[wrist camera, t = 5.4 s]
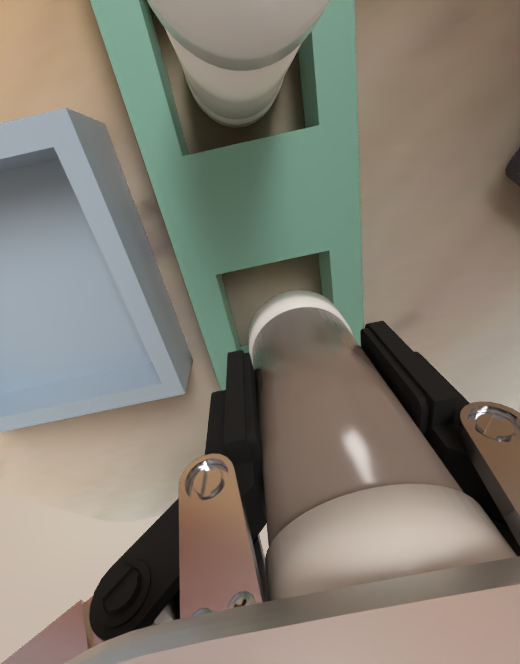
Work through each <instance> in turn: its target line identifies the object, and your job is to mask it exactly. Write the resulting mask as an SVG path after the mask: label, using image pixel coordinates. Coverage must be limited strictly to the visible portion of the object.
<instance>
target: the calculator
mask: <svg viewBox="0 0 520 664" xmlns="http://www.w3.org/2000/svg"><path fill="white" fill-rule="evenodd" d="M506 175H507V176H508V177H509V178H510V179H511V180H513V181H514V182H515V183H516V184H518V185H519V186H520V148H519V150H518V151H517V152H516V154H515V155H514V156H513V158H512V159H511V160H510V162H509V163H508V165H507V167H506Z"/></svg>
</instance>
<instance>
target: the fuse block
mask: <svg viewBox="0 0 520 664" xmlns="http://www.w3.org/2000/svg"><path fill="white" fill-rule="evenodd" d="M90 2H91V5H92V8H93V11H94V14H95V17H96V20H97V23H98V26H99V29H100V32H101V35H102V38H103V41H104V44H105V47H106V50H107V53H108V56H109V59H110V62H111V65H112V68H113V71H114V74H115V77H116V80H117V82H118V85H119V88H120V91H121V94H122V97H123V100H124V103H125V106H126V109H127V112H128V115H129V118H130V121H131V124H132V127H133V130H134V133H135V136H136V139H137V142H138V145H139V148H140V151H141V154H142V157H143V160H144V163H145V166H146V169H147V172H148V175H149V178H150V181H151V184H152V187H153V190H154V193H155V196H156V198H157V201H158V204H159V207H160V210H161V213H162V216H163V219H164V222H165V225H166V228H167V231H168V234H169V237H170V240H171V243H172V246H173V249H174V252H175V255H176V258H177V261H178V264H179V267H180V270H181V273H182V276H183V279H184V282H185V285H186V288H187V291H188V294H189V297H190V300H191V303H192V306H193V309H194V312H195V314H196V317H197V320H198V323H199V326H200V329H201V332H202V335H203V338H204V341H205V344H206V347H207V350H208V353H209V356H210V359H211V362H212V365H213V368H214V371H215V374H216V377H217V380H218V383H219V386H220V389H221V391H222V390H226V374H227V354H228V352H233V351H238V350H243V351H244V353H248V352H249V344H248V345H244V346H240V342H239V338H238V335H237V331H236V327H235V324H234V320H233V316H232V312H231V309H230V305H229V301H228V298H227V294H226V290H225V286H224V283H223V279H222V275H221V274H222V273H227V272H232V271H236V270H241V269H245V268H250V267H255V266H259V265H264V264H269V263H273V262H278V261H282V260H287V259H292V258H296V257H301V256H305V255H310V254H315V253H318V257H319V267H320V277H321V287H322V296H324V297H326V298H327V299H328V300H330V301H331V302H332V303H333V304H334V306H335V307H336V308H337V310H338V311H339V312H340V314H341V315H342V317H343V318H344V319H345V321H346V322H347V324H348V325H349V327H350V329H351V331H352V334H353V337H354V338H355V339H356V341H357V342H358V344H359V345H360V347H361V337H360V331H361V329H364V325H363V290H362V254H361V219H360V183H359V148H358V113H357V77H356V42H355V7H354V0H330V1H329V3H328V5H327V7H326V8H325V10H324V12H323V14H322V16H321V17H320V19H319V20H318V22H317V24H316V25H315V27H314V28H313V30H312V31H311V32H310V34H309V35H308V36H307V37H306V39H305V40H304V41H303V42H302V43H301V45H300V47H299V49H298V57H299V67H300V77H301V87H302V97H303V107H304V117H305V127H306V128H304V129H300V130H295V131H291V132H286V133H282V134H278V135H273V136H269V137H264V138H260V139H256V140H251V141H247V142H242V143H238V144H234V145H229V146H225V147H221V148H216V149H212V150H207V151H203V152H199V153H194V154H190V155H189V153H188V149H187V145H186V141H185V138H184V134H183V130H182V127H181V123H180V119H179V115H178V112H177V108H176V104H175V101H174V97H173V93H172V89H171V86H170V82H169V78H168V75H167V71H166V67H165V63H164V60H163V56H162V52H161V49H160V45H159V41H158V37H157V34H156V30H155V26H154V23H153V19H152V15H151V11H150V8H149V4H148V1H147V0H90Z"/></svg>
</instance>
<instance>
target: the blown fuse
mask: <svg viewBox="0 0 520 664" xmlns="http://www.w3.org/2000/svg"><path fill="white" fill-rule="evenodd" d="M248 341H249V353H250V356H251V360H252V364H253V368H254V375H255V386H256V397H257V408H258V419H259V430H260V441H261V452H262V474H263V486H264V497H265V508H266V520H267V531H268V542H269V548H268V550H267V554H266V557H265V570H266V583H267V597H268V601H273V600H278V599H284V598H289V597H295V596H300V595H306V594H311V593H317V592H322V591H328V590H333V589H338V588H344V587H349V586H355V585H361V584H366V583H372V582H377V581H383V580H389V579H394V578H400V577H405V576H411V575H417V574H422V573H428V572H433V571H439V570H445V569H450V568H456V567H462V566H467V565H473V564H479V563H484V562H490V561H496V560H502V559H507V558H513V557H517V555H516V554H515V552H514V551H513V550H512V548H511V547H510V546H509V544H508V543H507V541H506V540H505V539H504V537H503V536H502V535H501V533H500V532H499V530H498V529H497V528H496V526H495V525H494V524H493V522H492V521H491V520H490V518H489V517H488V515H487V514H486V513H485V511H484V510H483V509H482V507H481V506H480V504H479V503H478V502H476V501H475V500H474V499H473V498H472V497H470V496H468V495H467V494H465V493H464V492H463V491H462V489H461V488H460V487H459V485H458V484H457V482H456V481H455V479H454V478H453V477H452V475H451V474H450V472H449V471H448V470H447V468H446V467H445V465H444V464H443V462H442V461H441V460H440V458H439V457H438V455H437V454H436V453H435V451H434V450H433V448H432V447H431V446H430V444H429V443H428V441H427V440H426V438H425V437H424V436H423V434H422V433H421V431H420V430H419V429H418V427H417V426H416V424H415V423H414V421H413V420H412V419H411V417H410V416H409V414H408V413H407V412H406V410H405V409H404V407H403V406H402V405H401V403H400V402H399V400H398V399H397V397H396V396H395V395H394V393H393V392H392V390H391V389H390V388H389V386H388V385H387V383H386V382H385V380H384V379H383V378H382V376H381V375H380V373H379V372H378V371H377V369H376V368H375V366H374V365H373V364H372V362H371V361H370V359H369V358H368V356H367V355H366V354H365V352H364V351H363V349H362V348H361V347H360V345H359V344H358V342H357V341H356V339H355V338H354V337H353V334H352V331H351V329H350V327H349V325H348V324H347V322H346V321H345V319H344V318H343V317H342V315H341V314H340V312H339V311H338V310H337V308H336V307H335V306H334V304H333V303H332V302H331V301H330V300H328V299H327V298H326V297H324V296H322V295H321V294H318V293H316V292H312V291H308V290H292V291H287V292H283V293H280V294H278V295H276V296H274V297H272V298H270V299H269V300H267V301H266V302H265V303H264V304H263V305H262V306H260V308H259V309H258V310H257V311H256V313H255V314H254V316H253V318H252V320H251V322H250V326H249V331H248Z"/></svg>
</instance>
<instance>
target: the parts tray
mask: <svg viewBox="0 0 520 664" xmlns="http://www.w3.org/2000/svg"><path fill="white" fill-rule="evenodd" d="M192 361H193V360H192V357H191V354H190V352H189V349H188V346H187V344H186V341H185V338H184V336H183V333H182V330H181V328H180V325H179V322H178V320H177V317H176V314H175V312H174V309H173V306H172V303H171V301H170V298H169V295H168V293H167V290H166V287H165V285H164V282H163V279H162V277H161V274H160V271H159V269H158V266H157V263H156V261H155V258H154V255H153V252H152V250H151V247H150V244H149V242H148V239H147V236H146V234H145V231H144V228H143V226H142V223H141V220H140V218H139V215H138V212H137V210H136V207H135V204H134V202H133V199H132V196H131V193H130V191H129V188H128V185H127V183H126V180H125V177H124V175H123V172H122V169H121V167H120V164H119V161H118V159H117V156H116V153H115V151H114V148H113V145H112V142H111V140H110V137H109V134H108V132H107V129H106V126H105V124H104V123H102V122H99V121H97V120H94V119H92V118H89V117H87V116H85V115H82V114H80V113H77V112H75V111H72V110H70V109H67V108H63V109H59V110H55V111H51V112H46V113H42V114H38V115H33V116H29V117H25V118H21V119H16V120H12V121H8V122H3V123H0V432H5V431H10V430H14V429H19V428H24V427H29V426H34V425H38V424H43V423H48V422H53V421H58V420H62V419H67V418H72V417H77V416H82V415H87V414H91V413H96V412H101V411H106V410H111V409H115V408H120V407H125V406H130V405H135V404H139V403H144V402H149V401H154V400H159V399H164V398H168V397H173V396H178V395H183V394H185V392H186V387H187V383H188V379H189V374H190V370H191V365H192Z"/></svg>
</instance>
